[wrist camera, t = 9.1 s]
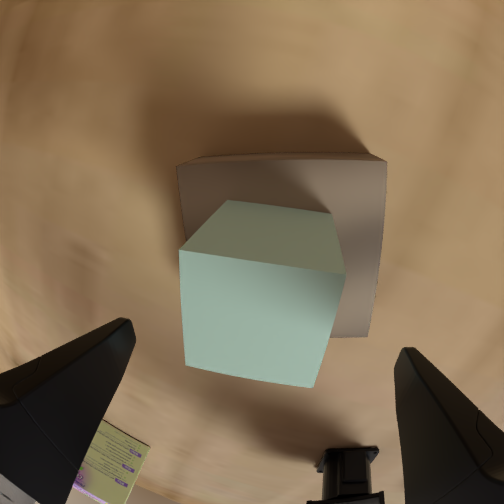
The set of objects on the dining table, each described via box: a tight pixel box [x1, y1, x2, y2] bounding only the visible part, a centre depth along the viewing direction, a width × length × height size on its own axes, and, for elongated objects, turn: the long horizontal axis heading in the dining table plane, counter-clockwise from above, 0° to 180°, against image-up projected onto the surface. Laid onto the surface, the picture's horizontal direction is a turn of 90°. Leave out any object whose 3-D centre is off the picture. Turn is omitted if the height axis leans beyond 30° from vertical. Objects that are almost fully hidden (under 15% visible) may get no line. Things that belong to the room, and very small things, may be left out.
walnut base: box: [176, 152, 387, 338], centre depth 17 cm, size 10×10×4 cm
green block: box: [179, 200, 346, 388], centre depth 12 cm, size 5×5×6 cm
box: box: [72, 420, 150, 504], centre depth 30 cm, size 10×6×12 cm, turn 59°
